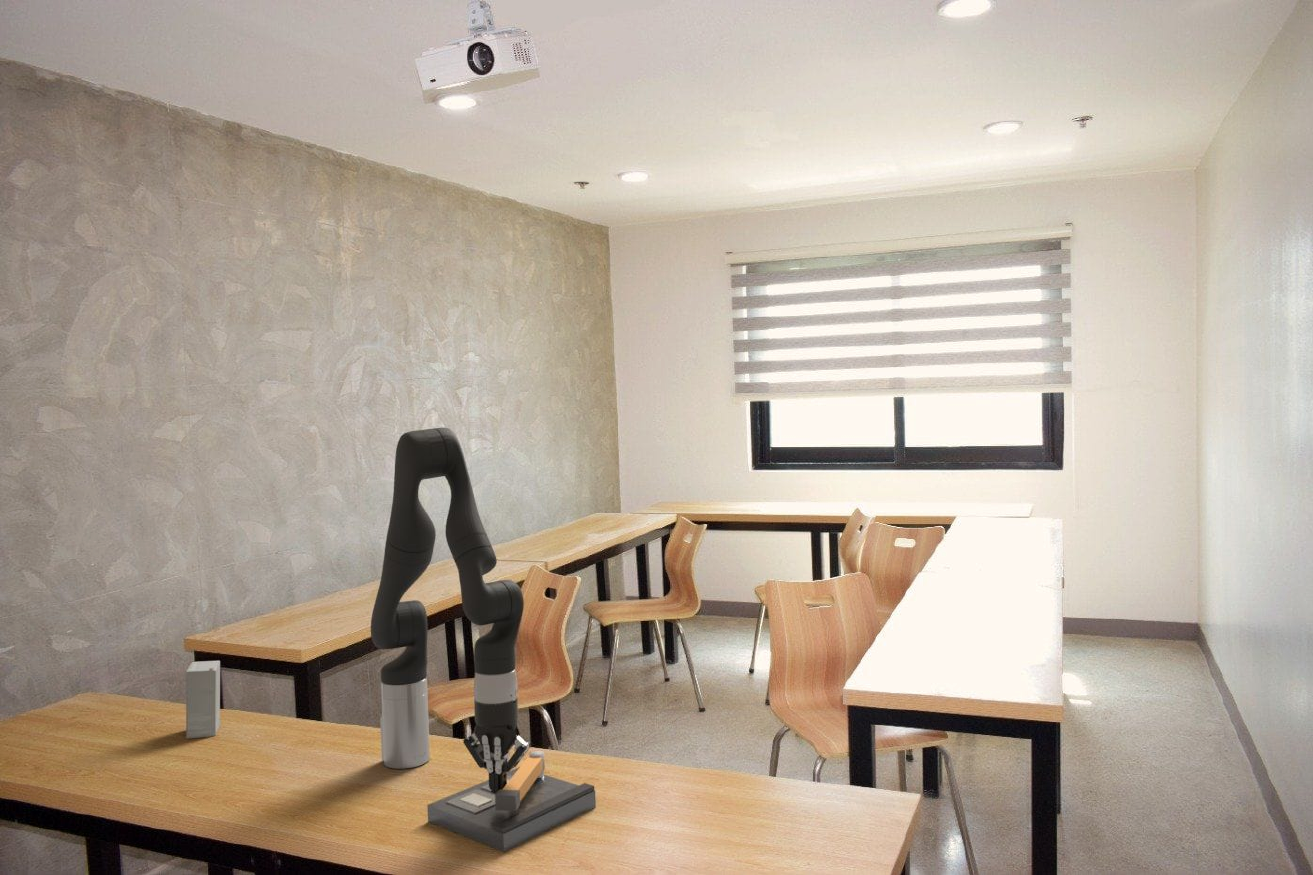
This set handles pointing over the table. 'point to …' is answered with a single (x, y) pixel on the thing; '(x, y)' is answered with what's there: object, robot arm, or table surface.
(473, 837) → the plate
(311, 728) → the table surface
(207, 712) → the skincare box
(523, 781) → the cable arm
